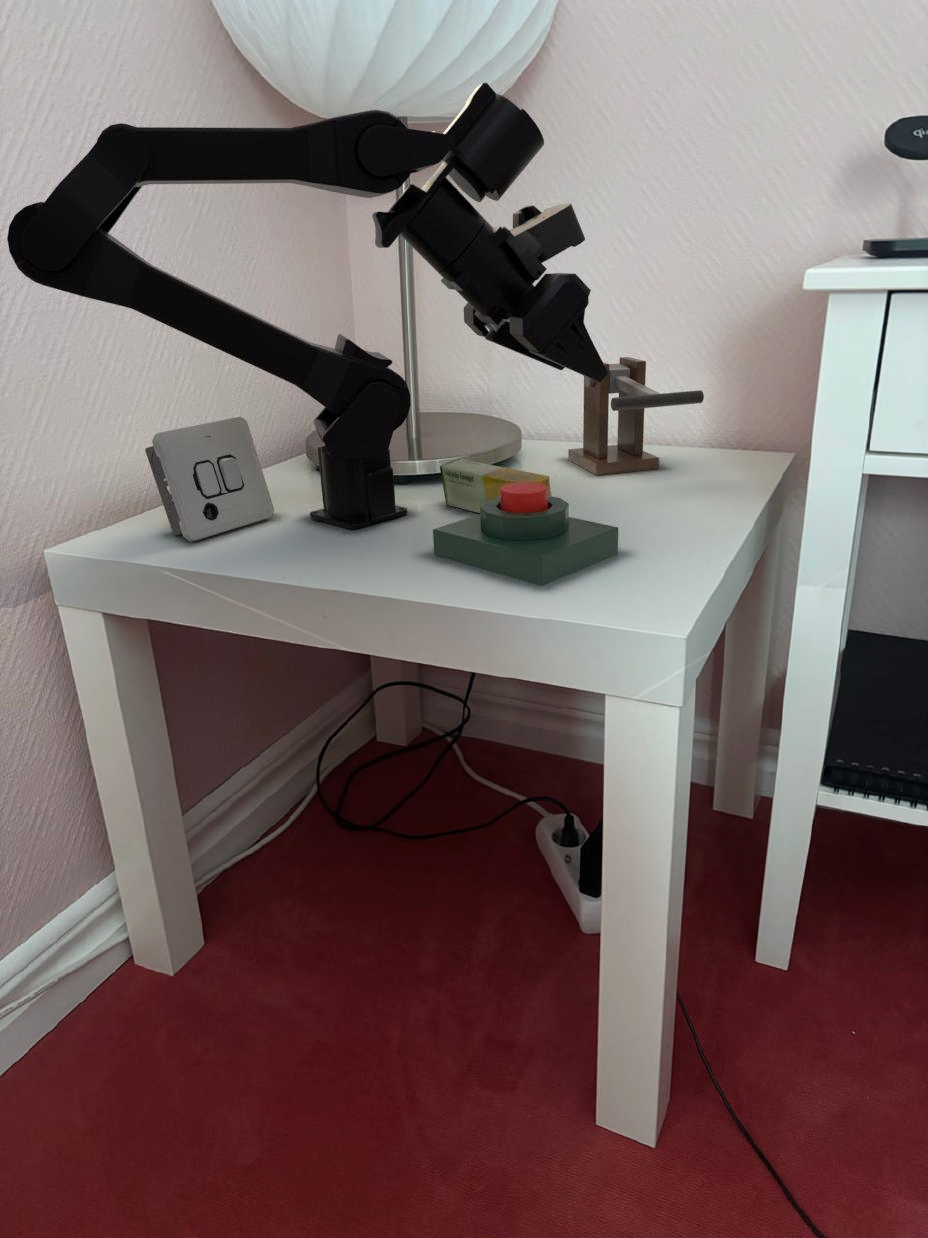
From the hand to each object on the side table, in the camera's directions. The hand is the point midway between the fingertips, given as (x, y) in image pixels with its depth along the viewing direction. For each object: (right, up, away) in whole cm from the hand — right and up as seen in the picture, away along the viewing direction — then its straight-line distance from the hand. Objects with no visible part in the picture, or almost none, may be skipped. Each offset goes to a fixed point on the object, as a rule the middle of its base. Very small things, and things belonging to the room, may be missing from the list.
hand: (583, 371), depth 82 cm
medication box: (-8, -13, -2) cm, 16 cm away
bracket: (+5, -6, +15) cm, 17 cm away
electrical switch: (-33, -14, -2) cm, 36 cm away
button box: (-6, -18, -12) cm, 22 cm away
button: (-6, -14, -14) cm, 21 cm away
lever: (+6, -1, +8) cm, 10 cm away
